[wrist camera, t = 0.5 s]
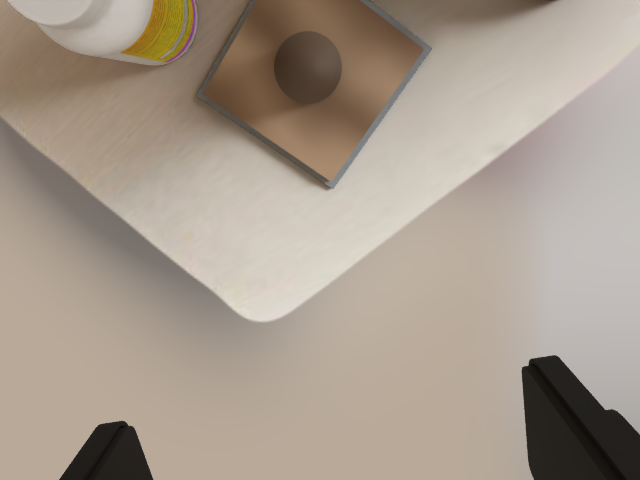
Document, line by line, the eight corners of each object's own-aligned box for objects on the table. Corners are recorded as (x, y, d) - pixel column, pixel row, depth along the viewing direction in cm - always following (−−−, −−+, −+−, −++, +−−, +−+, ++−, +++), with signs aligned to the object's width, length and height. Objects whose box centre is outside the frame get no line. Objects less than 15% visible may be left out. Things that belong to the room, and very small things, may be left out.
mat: (287, -61, 31) (287, -63, 30) (430, 49, 33) (432, 48, 32) (198, 95, 34) (196, 95, 34) (333, 187, 36) (333, 189, 35)
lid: (289, -51, 31) (280, -83, 25) (421, 50, 32) (440, 41, 27) (205, 94, 34) (180, 93, 28) (331, 180, 35) (331, 196, 30)
